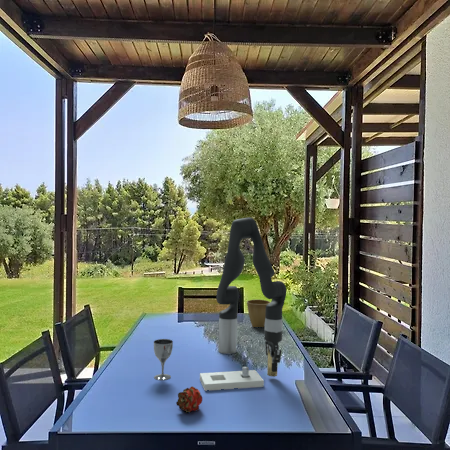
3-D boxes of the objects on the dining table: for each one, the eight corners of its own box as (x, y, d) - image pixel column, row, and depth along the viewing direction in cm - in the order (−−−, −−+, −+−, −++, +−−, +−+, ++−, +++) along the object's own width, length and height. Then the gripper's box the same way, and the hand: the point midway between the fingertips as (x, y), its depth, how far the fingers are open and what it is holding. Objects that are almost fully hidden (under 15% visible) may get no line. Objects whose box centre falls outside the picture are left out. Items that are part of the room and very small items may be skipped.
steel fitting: (241, 381, 170) (241, 366, 170) (247, 380, 171) (247, 366, 171) (243, 383, 168) (243, 368, 168) (249, 383, 168) (249, 368, 168)
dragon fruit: (182, 423, 136) (190, 412, 148) (203, 409, 136) (210, 399, 148) (168, 400, 138) (178, 391, 150) (189, 386, 138) (197, 378, 149)
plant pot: (242, 325, 266) (242, 300, 266) (262, 323, 272) (262, 299, 272) (253, 330, 252) (254, 304, 252) (274, 328, 259) (274, 303, 259)
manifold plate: (199, 379, 171) (199, 373, 171) (255, 375, 176) (255, 370, 176) (204, 390, 159) (204, 384, 159) (263, 386, 165) (263, 380, 165)
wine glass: (153, 381, 168) (154, 344, 168) (152, 374, 175) (152, 339, 175) (173, 379, 170) (174, 343, 170) (170, 373, 177) (171, 338, 177)
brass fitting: (265, 373, 175) (266, 352, 175) (275, 372, 176) (275, 351, 176) (269, 376, 171) (269, 355, 171) (278, 376, 172) (279, 354, 171)
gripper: (259, 324, 179) (258, 364, 179) (270, 333, 165) (269, 376, 165) (276, 324, 181) (275, 363, 181) (288, 333, 167) (287, 375, 167)
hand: (272, 369), depth 173 cm, fingers closed on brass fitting, 4 cm apart
